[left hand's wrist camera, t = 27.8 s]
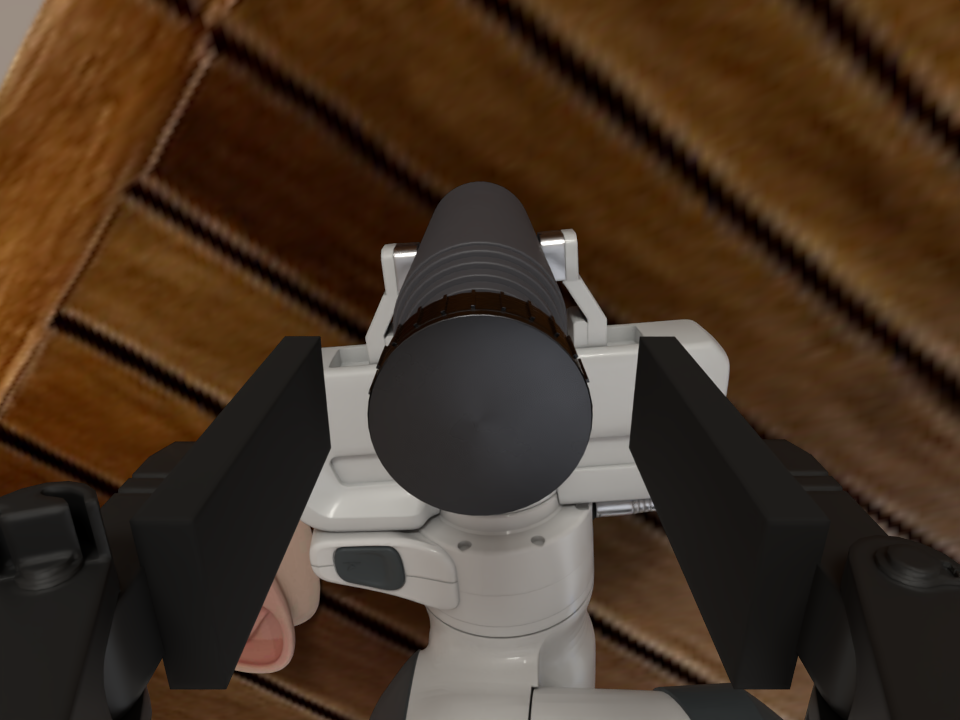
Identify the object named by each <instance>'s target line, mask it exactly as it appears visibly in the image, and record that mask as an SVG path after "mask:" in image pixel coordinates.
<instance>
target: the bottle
mask: <svg viewBox="0 0 960 720" xmlns="http://www.w3.org/2000/svg"><path fill="white" fill-rule="evenodd" d="M474 289H475V290H476V292H492V293H500V291H502V292H504V295H508V296H512V297H515V298H518V299H520V300H523V301H525V302H527V300H529V301H531V304H532V305H533V306H535V307H537V308H538V309H540V310H541V311H543V312H544V313H545V314H546V315H548V316H550V315H552V316H553V317H554V319H555V322H556V324H557V325H558V326H559V327H560V328H561V329H562V331H563V332H564V333H565V335H566V336H567V312H566V307H565V303H564V299H563V297H562V294H561V291H560V289H559V287H558V284H557V282H556V280H555V278H554V275H553V273H552V271H551V268H550V266H549V264H548V261H547V259H546V257H545V255H544V252H543V250H542V248H541V245H540V243H539V241H538V238H537V236H536V234H535V231H534V229H533V227H532V225H531V222H530V220H529V218H528V215H527V213H526V211H525V209H524V207H523V205H522V204H521V202H520V201H519V200H518V199H517V198H516V196H515V195H513V194H512V193H511V192H510V191H508V190H507V189H505V188H504V187H501V186H499V185H497V184H493V183H489V182H471V183H467V184H464V185H461V186H459V187H457V188H455V189H453V190H452V191H450V192H449V193H448V194H447V195H446V196H445V197H444V198H443V199H442V200H441V201H440V203H439V204H438V206H437V208H436V209H435V211H434V214H433V216H432V218H431V221H430V223H429V225H428V227H427V230H426V232H425V234H424V237H423V239H422V241H421V244H420V246H419V248H418V250H417V253H416V255H415V257H414V260H413V262H412V264H411V267H410V269H409V271H408V274H407V276H406V278H405V280H404V283H403V285H402V287H401V290H400V292H399V295H398V297H397V300H396V304H395V308H394V314H393V336H394V335H395V332H396V330H397V327H398V325H399V324H401V325H403V324H404V323H405V322H406V321H407V320H408V319H409V318H410V317H411V316H412V315H414V314H415V313H416V312H417V310H418V308H419V307H420V306H422V308H424V307H425V306H427V305H429V304H431V303H433V302H435V301H437V300H440V299H442V298H443V295H446V294H447V295H448V296H452V295H456V294H460V293H468V292H471V291H472V290H474Z"/></svg>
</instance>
